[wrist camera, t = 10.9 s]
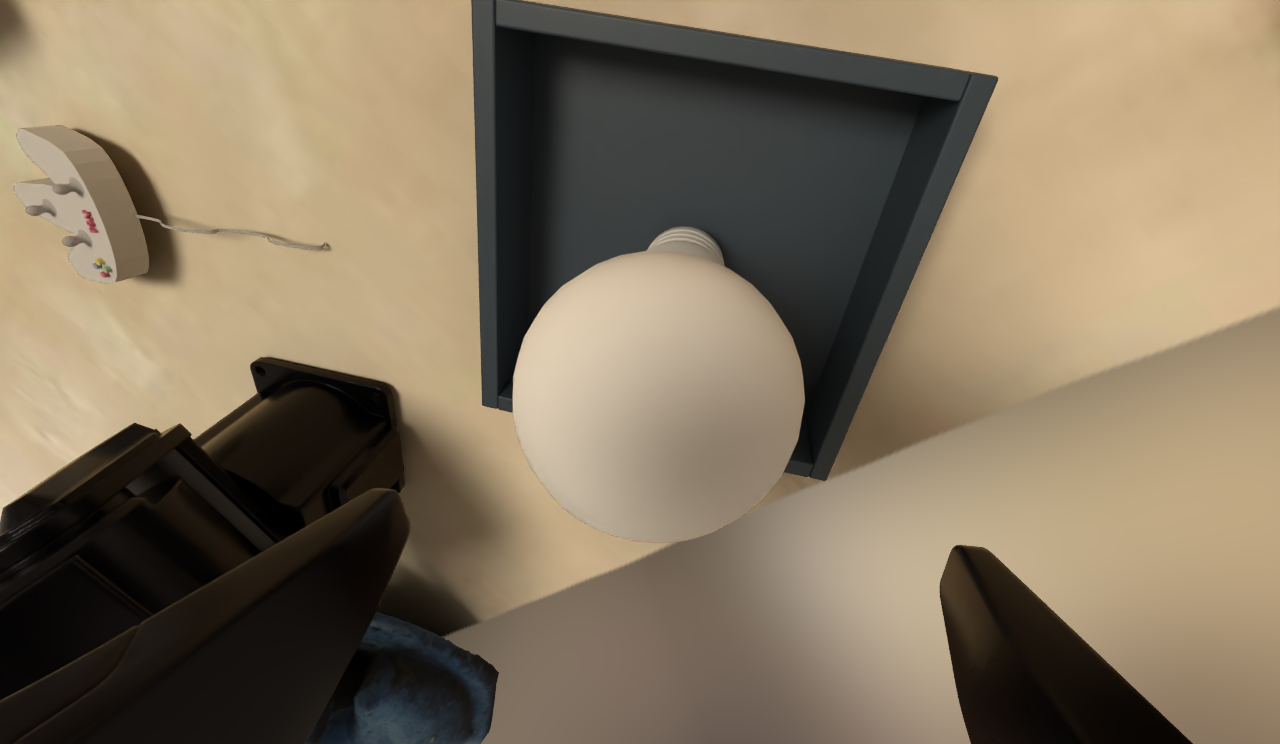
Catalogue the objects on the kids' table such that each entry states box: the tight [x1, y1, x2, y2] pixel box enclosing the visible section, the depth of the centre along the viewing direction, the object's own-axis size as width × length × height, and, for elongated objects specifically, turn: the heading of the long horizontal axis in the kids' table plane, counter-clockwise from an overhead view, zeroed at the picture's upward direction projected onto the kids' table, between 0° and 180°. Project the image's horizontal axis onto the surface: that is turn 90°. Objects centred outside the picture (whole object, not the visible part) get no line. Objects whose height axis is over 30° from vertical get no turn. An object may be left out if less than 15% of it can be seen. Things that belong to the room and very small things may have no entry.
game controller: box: [14, 125, 325, 284], centre depth 20 cm, size 6×12×3 cm, turn 99°
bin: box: [471, 0, 998, 481], centre depth 17 cm, size 12×12×4 cm
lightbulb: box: [513, 226, 805, 543], centre depth 14 cm, size 6×6×11 cm
